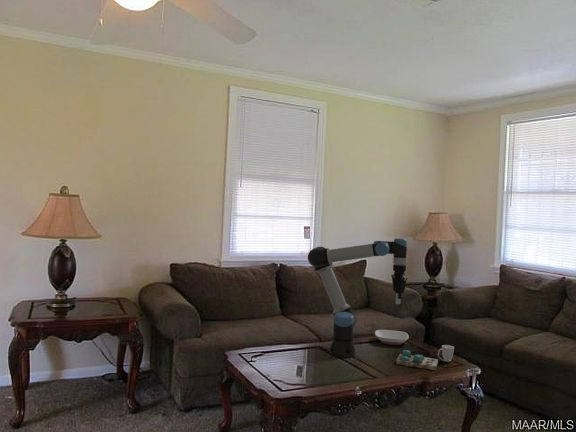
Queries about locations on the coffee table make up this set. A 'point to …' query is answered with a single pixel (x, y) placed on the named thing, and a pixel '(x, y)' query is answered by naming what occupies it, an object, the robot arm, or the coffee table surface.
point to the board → (426, 363)
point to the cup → (447, 352)
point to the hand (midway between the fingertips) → (398, 303)
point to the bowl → (391, 337)
